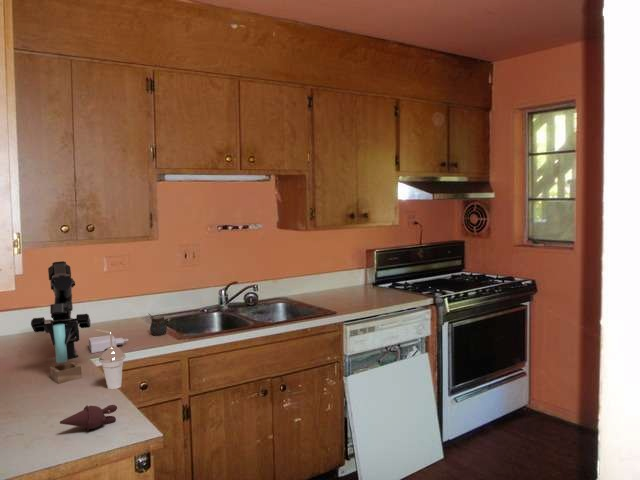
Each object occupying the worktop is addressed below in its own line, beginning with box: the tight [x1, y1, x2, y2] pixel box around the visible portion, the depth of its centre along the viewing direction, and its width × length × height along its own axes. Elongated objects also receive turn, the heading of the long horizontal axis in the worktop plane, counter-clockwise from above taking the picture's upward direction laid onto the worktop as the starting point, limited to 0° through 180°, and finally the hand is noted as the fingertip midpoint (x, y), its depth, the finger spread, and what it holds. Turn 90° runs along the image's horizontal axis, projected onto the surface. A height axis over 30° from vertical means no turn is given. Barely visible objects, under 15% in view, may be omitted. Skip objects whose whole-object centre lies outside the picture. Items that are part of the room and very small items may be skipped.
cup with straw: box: [95, 328, 126, 390], centre depth 187 cm, size 8×9×20 cm
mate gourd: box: [147, 312, 168, 337], centre depth 249 cm, size 7×8×10 cm
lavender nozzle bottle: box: [88, 334, 129, 354], centre depth 231 cm, size 5×9×15 cm
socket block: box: [49, 361, 83, 385], centre depth 197 cm, size 8×8×4 cm
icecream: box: [59, 404, 118, 432], centre depth 156 cm, size 7×7×15 cm
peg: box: [53, 324, 69, 364], centre depth 195 cm, size 4×4×13 cm
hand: (59, 344), depth 193 cm, fingers closed on peg, 4 cm apart
